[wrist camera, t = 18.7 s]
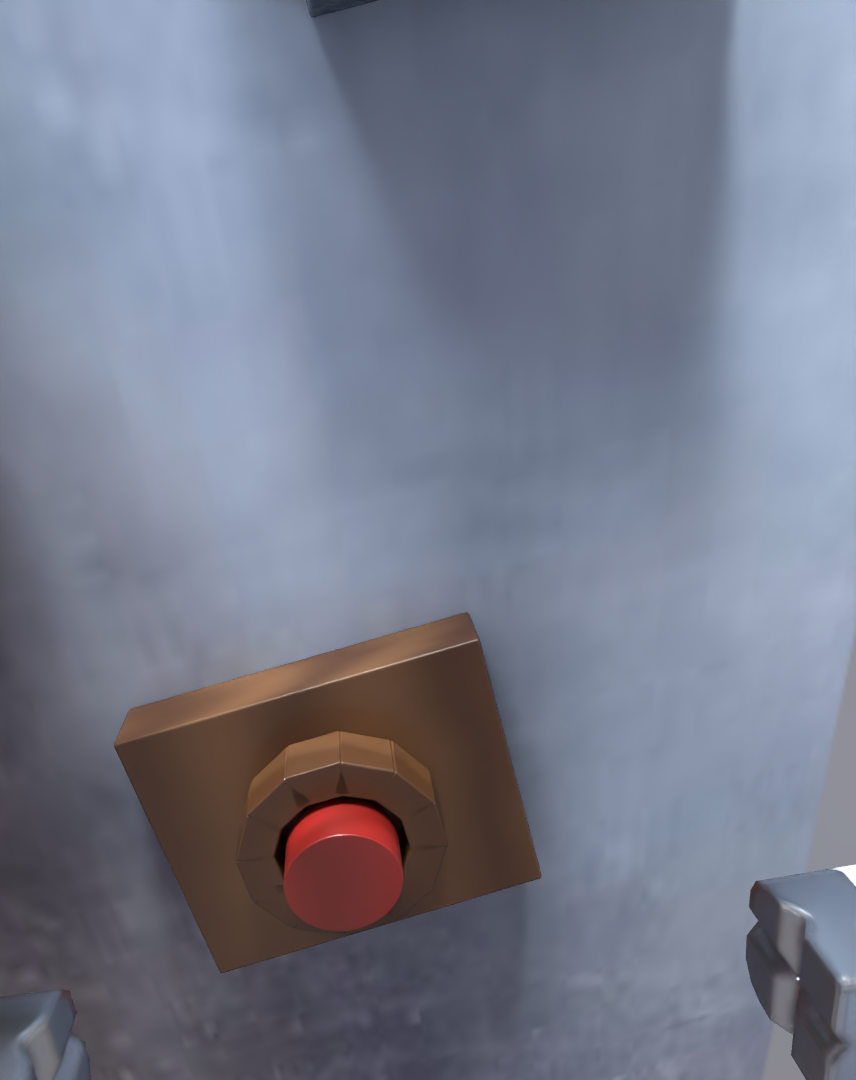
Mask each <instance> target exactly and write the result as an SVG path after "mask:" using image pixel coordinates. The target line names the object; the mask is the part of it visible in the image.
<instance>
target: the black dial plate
mask: <svg viewBox="0 0 856 1080" xmlns="http://www.w3.org/2000/svg"><path fill="white" fill-rule="evenodd" d="M373 1H377V0H306V2H307V5H308V9H309V13H310V15H311V17H317V16H321V15H325V14H329V13H332V12H336V11H340V10H344V9H347V8H351V7H355V6H359V5H362V4H366V3H370V2H373Z"/></svg>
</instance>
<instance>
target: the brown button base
mask: <svg viewBox="0 0 856 1080" xmlns="http://www.w3.org/2000/svg"><path fill="white" fill-rule="evenodd" d="M114 747H115V749H116V751H117V754H118V756H119V758H120V760H121V762H122V764H123V766H124V768H125V771H126V773H127V775H128V777H129V779H130V781H131V783H132V786H133V788H134V790H135V792H136V794H137V796H138V798H139V800H140V803H141V805H142V807H143V809H144V811H145V813H146V815H147V817H148V820H149V822H150V824H151V826H152V828H153V830H154V832H155V835H156V837H157V839H158V841H159V843H160V845H161V847H162V849H163V852H164V854H165V856H166V858H167V860H168V862H169V864H170V867H171V869H172V871H173V873H174V875H175V877H176V879H177V881H178V884H179V886H180V888H181V890H182V892H183V894H184V896H185V899H186V901H187V903H188V905H189V907H190V909H191V911H192V913H193V916H194V918H195V920H196V922H197V924H198V926H199V928H200V930H201V933H202V935H203V937H204V939H205V941H206V943H207V945H208V948H209V950H210V952H211V954H212V956H213V958H214V960H215V962H216V965H217V967H218V969H219V971H220V973H224V972H227V971H231V970H234V969H237V968H241V967H244V966H247V965H251V964H254V963H258V962H261V961H264V960H268V959H271V958H274V957H278V956H281V955H284V954H288V953H291V952H294V951H298V950H301V949H305V948H308V947H311V946H315V945H318V944H321V943H325V942H328V941H331V940H335V939H338V938H342V937H345V936H348V935H352V934H355V933H358V932H362V931H365V930H368V929H372V928H375V927H379V926H382V925H385V924H389V923H392V922H395V921H399V920H402V919H405V918H409V917H412V916H415V915H419V914H422V913H426V912H429V911H432V910H436V909H439V908H442V907H446V906H449V905H452V904H456V903H459V902H463V901H466V900H469V899H473V898H476V897H479V896H483V895H486V894H489V893H493V892H496V891H500V890H503V889H506V888H510V887H513V886H516V885H520V884H523V883H526V882H530V881H533V880H536V879H540V878H541V876H542V875H541V871H540V867H539V863H538V860H537V856H536V852H535V848H534V845H533V841H532V837H531V833H530V829H529V826H528V822H527V818H526V814H525V810H524V807H523V803H522V799H521V795H520V791H519V788H518V784H517V780H516V776H515V773H514V769H513V765H512V761H511V757H510V754H509V750H508V746H507V742H506V738H505V735H504V731H503V727H502V723H501V719H500V716H499V712H498V708H497V704H496V700H495V697H494V693H493V689H492V685H491V682H490V678H489V674H488V670H487V666H486V663H485V659H484V655H483V651H482V647H481V644H480V640H479V637H478V635H477V632H476V630H475V628H474V625H473V623H472V620H471V618H470V615H469V613H463V614H459V615H456V616H452V617H449V618H445V619H442V620H438V621H435V622H431V623H428V624H424V625H421V626H418V627H414V628H411V629H407V630H404V631H400V632H397V633H393V634H390V635H386V636H383V637H379V638H376V639H372V640H369V641H366V642H362V643H359V644H355V645H352V646H348V647H345V648H341V649H338V650H334V651H331V652H327V653H324V654H320V655H317V656H313V657H310V658H307V659H303V660H300V661H296V662H293V663H289V664H286V665H282V666H279V667H275V668H272V669H268V670H265V671H261V672H258V673H254V674H251V675H248V676H244V677H241V678H237V679H234V680H230V681H227V682H223V683H220V684H216V685H213V686H209V687H206V688H202V689H199V690H196V691H192V692H189V693H185V694H182V695H178V696H175V697H171V698H168V699H164V700H161V701H157V702H154V703H150V704H147V705H143V706H140V707H137V708H133V709H130V710H129V712H128V714H127V716H126V718H125V721H124V723H123V725H122V727H121V730H120V732H119V734H118V736H117V739H116V741H115V743H114ZM341 798H350V799H358V800H363V801H366V802H369V803H371V804H373V805H375V806H377V807H379V808H380V809H382V810H383V811H384V812H385V813H386V814H387V815H388V816H389V817H390V818H391V819H392V821H393V822H394V824H395V826H396V828H397V831H398V835H399V843H400V851H401V859H402V867H403V876H404V882H403V888H402V892H401V894H400V897H399V899H398V901H397V902H396V904H395V905H394V907H393V908H392V909H391V910H390V911H389V912H388V913H387V914H386V915H385V916H383V917H382V918H381V919H379V920H378V921H376V922H375V923H372V924H370V925H368V926H366V927H363V928H360V929H355V930H350V931H329V930H323V929H320V928H316V927H314V926H312V925H309V924H308V923H306V922H304V921H303V920H301V919H300V918H299V917H298V916H297V915H296V914H295V913H294V912H293V911H292V910H291V908H290V907H289V905H288V903H287V901H286V898H285V895H284V889H283V882H284V868H285V854H286V842H287V837H288V835H289V832H290V830H291V828H292V826H293V825H294V823H295V822H296V821H297V819H298V818H299V817H300V816H301V815H302V814H304V813H305V812H306V811H307V810H309V809H310V808H312V807H314V806H316V805H318V804H320V803H323V802H326V801H329V800H334V799H341Z"/></svg>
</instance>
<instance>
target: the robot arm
mask: <svg viewBox="0 0 856 1080" xmlns="http://www.w3.org/2000/svg"><path fill="white" fill-rule="evenodd" d="M749 907H750V909H751V910H752V912H753V914H754V915H755V917H756V918H757V920H758V922H757V923H756V925H755V926H754V927H753V928H752V930H751V931H750V932H749V933H748V935H747V941H746V961H747V965H748V970H749V974H750V979H751V983H752V985H753V987H754V990H755V992H756V995H757V997H758V999H759V1002H760V1003H761V1005H762V1007H763V1008H764V1010H765V1012H766V1014H767V1015H768V1017H769V1019H770V1020H771V1021H772V1022H774V1023H775V1024H777V1025H779V1026H780V1027H782V1028H783V1029H785V1030H786V1031H788V1032H789V1033H791V1034H792V1035H793V1042H792V1052H791V1055H792V1057H793V1059H794V1060H795V1062H796V1064H797V1065H798V1067H799V1069H800V1070H801V1072H802V1074H803V1075H804V1077H805V1079H806V1080H856V865H851V866H844V867H839V868H834V869H832V870H830V869H826V870H821V871H814V872H808V873H802V874H796V875H790V876H784V877H778V878H772V879H766V880H760V881H756V882H755V884H754V885H753V887H752V889H751V893H750V903H749ZM76 1014H77V1011H76V1008H75V1005H74V1002H73V999H72V996H71V993H70V991H69V990H64V989H57V990H49V991H41V992H34V993H26V994H18V995H10V996H2V997H0V1080H91V1071H90V1059H89V1055H88V1051H87V1047H86V1043H85V1042H84V1041H83V1040H81V1039H80V1038H79V1037H77V1036H76V1035H74V1034H73V1033H71V1030H72V1027H73V1023H74V1020H75V1017H76Z"/></svg>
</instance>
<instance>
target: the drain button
mask: <svg viewBox="0 0 856 1080" xmlns="http://www.w3.org/2000/svg"><path fill="white" fill-rule="evenodd" d="M403 882H404V876H403V867H402V859H401V851H400V843H399V835H398V831H397V828H396V826H395V824H394V822H393V821H392V819H391V818H390V817H389V816H388V815H387V814H386V813H385V812H384V811H383V810H382V809H380V808H379V807H377V806H375V805H373V804H371V803H369V802H366V801H363V800H358V799H350V798H341V799H334V800H329V801H326V802H323V803H320V804H318V805H316V806H314V807H312V808H310V809H309V810H307V811H306V812H305V813H304V814H302V815H301V816H300V817H299V818H298V819H297V821H296V822H295V823H294V825H293V826H292V828H291V830H290V832H289V835H288V837H287V842H286V854H285V868H284V882H283V889H284V895H285V898H286V901H287V903H288V905H289V907H290V908H291V910H292V911H293V912H294V913H295V914H296V915H297V916H298V917H299V918H300V919H301V920H303V921H304V922H306V923H308V924H309V925H312V926H314V927H316V928H320V929H323V930H329V931H350V930H355V929H360V928H363V927H366V926H368V925H370V924H372V923H375V922H376V921H378V920H379V919H381V918H382V917H383V916H385V915H386V914H387V913H388V912H389V911H390V910H391V909H392V908H393V907H394V905H395V904H396V902H397V901H398V899H399V897H400V894H401V892H402V888H403Z"/></svg>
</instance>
